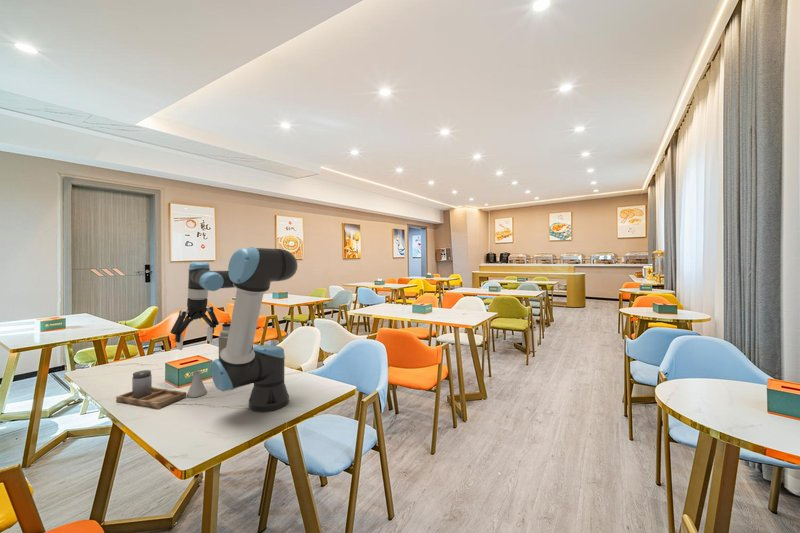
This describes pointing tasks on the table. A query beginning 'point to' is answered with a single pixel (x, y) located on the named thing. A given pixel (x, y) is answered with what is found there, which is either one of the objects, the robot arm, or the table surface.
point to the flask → (196, 386)
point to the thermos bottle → (223, 337)
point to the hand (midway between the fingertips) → (195, 344)
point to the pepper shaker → (141, 384)
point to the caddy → (153, 398)
